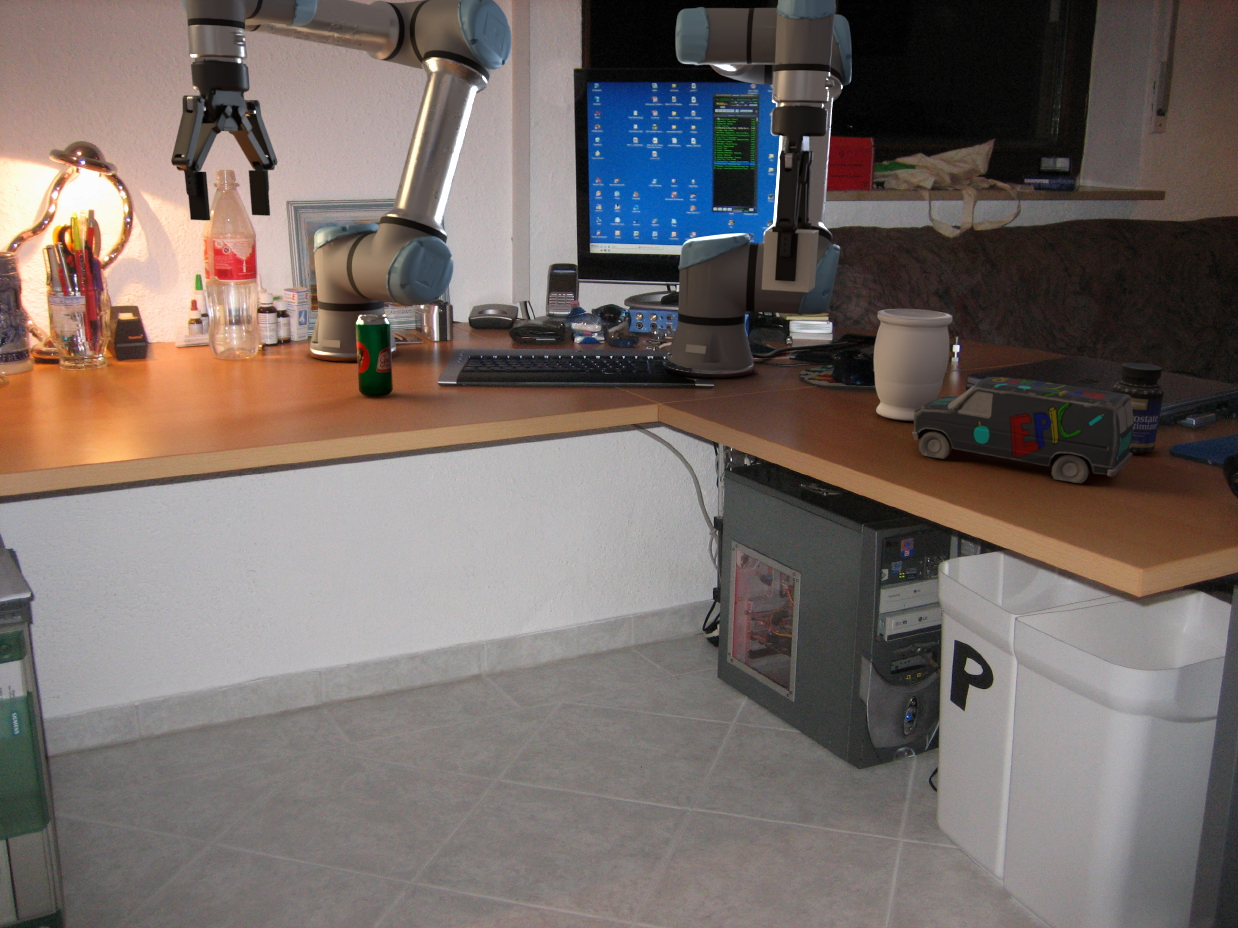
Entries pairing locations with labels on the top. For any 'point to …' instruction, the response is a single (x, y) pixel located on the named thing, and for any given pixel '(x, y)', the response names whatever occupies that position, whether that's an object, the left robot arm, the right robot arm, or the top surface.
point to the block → (803, 264)
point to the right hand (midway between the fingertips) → (789, 277)
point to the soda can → (374, 355)
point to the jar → (910, 360)
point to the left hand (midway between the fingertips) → (232, 218)
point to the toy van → (1032, 426)
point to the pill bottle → (1142, 402)
